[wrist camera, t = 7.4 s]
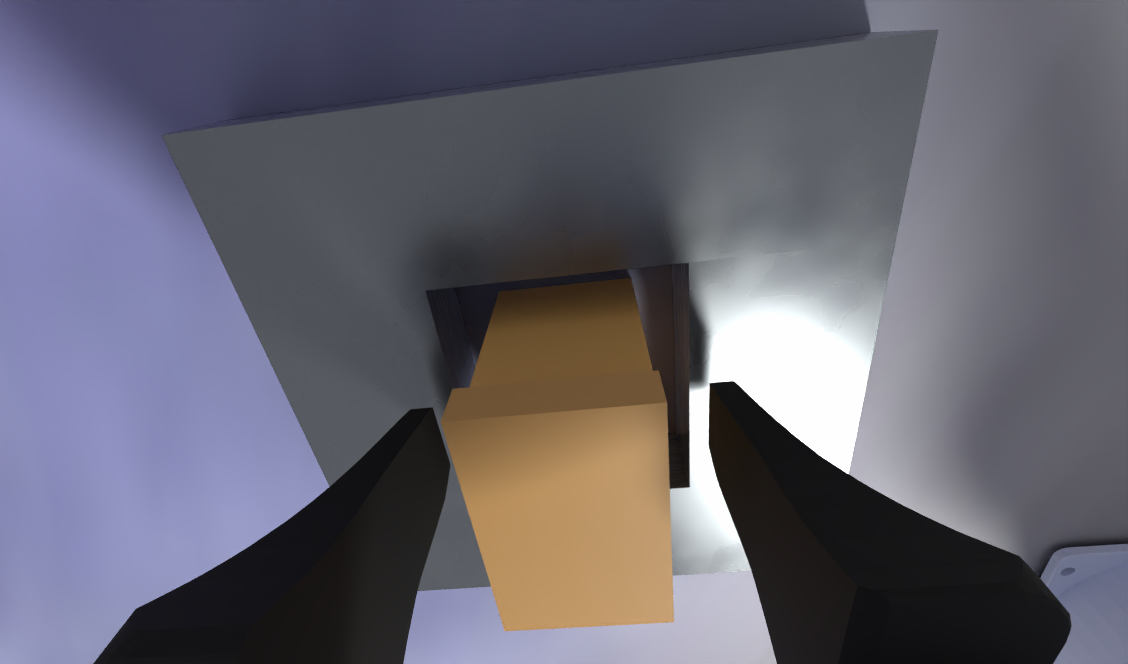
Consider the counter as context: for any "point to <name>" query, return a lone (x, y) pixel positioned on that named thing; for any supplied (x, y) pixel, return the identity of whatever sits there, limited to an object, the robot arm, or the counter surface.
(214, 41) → the counter surface
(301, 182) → the rosette plate
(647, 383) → the orange stepped block
